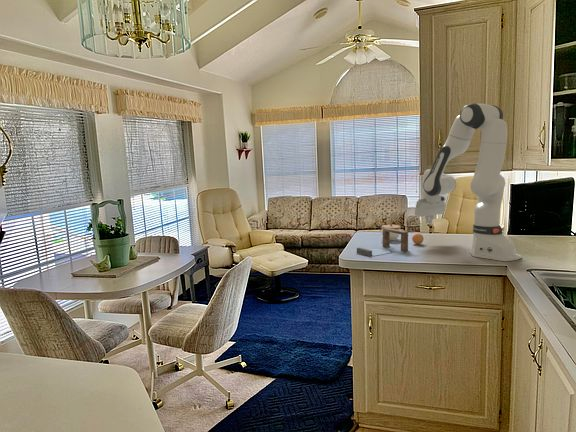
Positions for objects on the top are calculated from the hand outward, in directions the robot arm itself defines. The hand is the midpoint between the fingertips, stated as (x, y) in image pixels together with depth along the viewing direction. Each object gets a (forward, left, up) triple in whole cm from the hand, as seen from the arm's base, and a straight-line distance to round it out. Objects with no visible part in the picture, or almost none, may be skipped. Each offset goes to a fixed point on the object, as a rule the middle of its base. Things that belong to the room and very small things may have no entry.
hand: (429, 223), depth 240 cm
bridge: (-1, +26, -10) cm, 28 cm away
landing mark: (-1, +40, -10) cm, 42 cm away
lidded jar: (+17, +11, -11) cm, 23 cm away
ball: (-1, +9, -7) cm, 12 cm away
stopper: (-1, +47, -10) cm, 49 cm away
